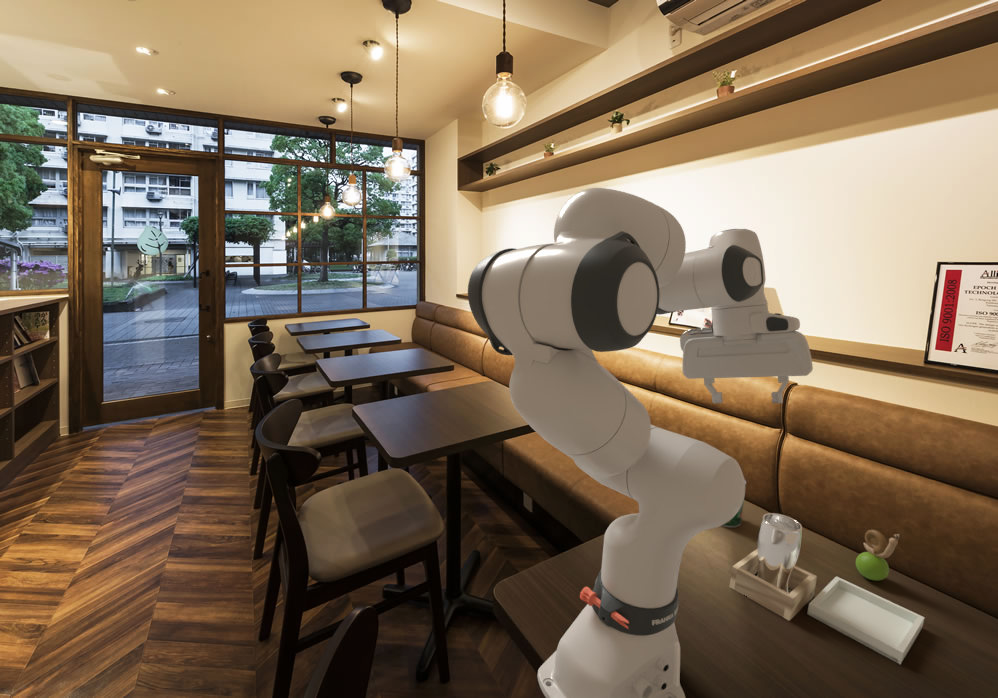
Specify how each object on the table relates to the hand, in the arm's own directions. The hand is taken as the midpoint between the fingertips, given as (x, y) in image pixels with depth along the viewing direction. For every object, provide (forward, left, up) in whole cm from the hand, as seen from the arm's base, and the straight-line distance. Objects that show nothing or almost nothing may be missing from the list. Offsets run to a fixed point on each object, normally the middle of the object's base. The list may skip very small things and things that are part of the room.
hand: (746, 402), depth 83 cm
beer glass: (+10, -5, -39) cm, 41 cm away
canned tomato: (+29, +15, -39) cm, 51 cm away
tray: (+16, -18, -39) cm, 46 cm away
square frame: (+10, -5, -39) cm, 41 cm away
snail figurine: (+32, -15, -39) cm, 53 cm away
